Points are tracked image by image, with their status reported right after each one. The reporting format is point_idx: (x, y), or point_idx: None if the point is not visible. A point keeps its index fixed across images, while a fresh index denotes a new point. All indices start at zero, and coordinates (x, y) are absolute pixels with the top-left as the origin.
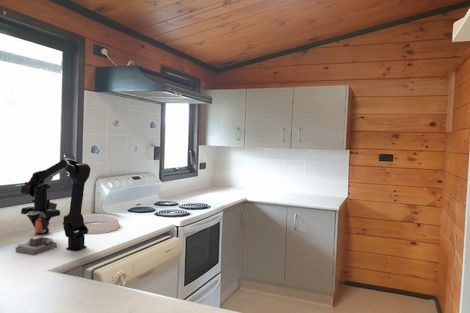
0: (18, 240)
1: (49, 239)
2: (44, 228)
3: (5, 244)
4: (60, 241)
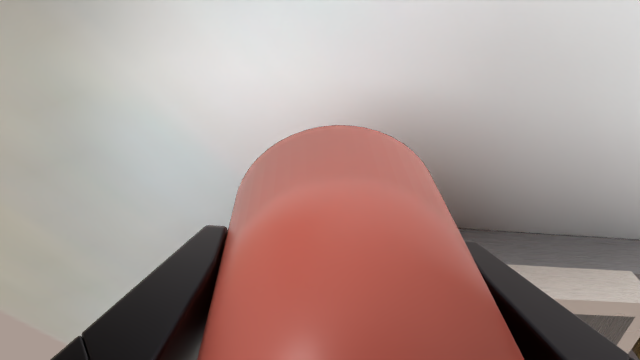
0: (19, 191)
1: (630, 340)
2: None
3: (65, 336)
4: (629, 32)
